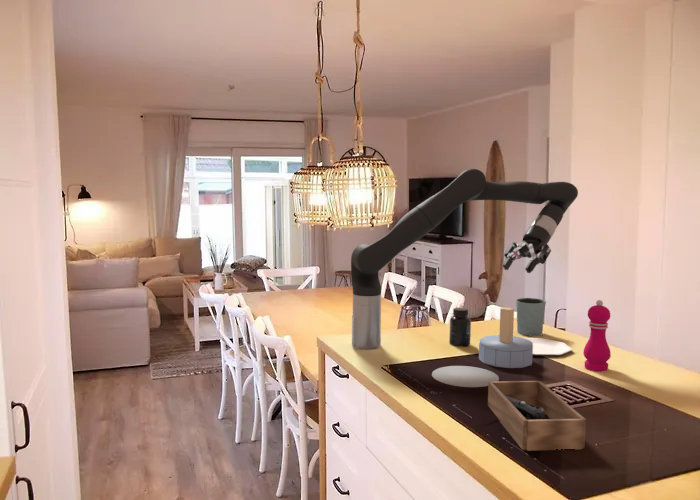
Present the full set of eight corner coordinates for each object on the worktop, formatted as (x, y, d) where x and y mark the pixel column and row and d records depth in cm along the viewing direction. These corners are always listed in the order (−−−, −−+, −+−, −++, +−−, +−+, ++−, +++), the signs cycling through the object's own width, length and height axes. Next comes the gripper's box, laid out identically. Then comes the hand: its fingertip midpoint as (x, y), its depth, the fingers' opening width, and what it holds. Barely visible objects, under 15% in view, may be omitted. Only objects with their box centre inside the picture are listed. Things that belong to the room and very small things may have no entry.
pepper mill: (608, 366, 169) (612, 298, 167) (611, 373, 162) (614, 303, 160) (582, 363, 172) (585, 297, 169) (583, 370, 165) (586, 301, 163)
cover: (511, 372, 163) (513, 316, 161) (468, 359, 175) (470, 307, 173) (542, 362, 172) (544, 309, 171) (499, 351, 184) (501, 301, 182)
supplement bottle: (472, 347, 188) (473, 311, 187) (450, 347, 188) (451, 311, 187) (468, 342, 195) (469, 307, 194) (447, 341, 195) (448, 306, 194)
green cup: (542, 330, 211) (543, 298, 210) (546, 337, 202) (548, 303, 200) (513, 329, 213) (514, 297, 212) (516, 336, 203) (517, 302, 202)
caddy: (523, 450, 114) (524, 421, 113) (487, 406, 137) (488, 381, 137) (585, 449, 115) (586, 420, 114) (539, 405, 138) (540, 380, 138)
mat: (439, 389, 149) (439, 387, 149) (426, 367, 167) (426, 366, 167) (508, 387, 150) (508, 386, 150) (487, 366, 168) (487, 365, 168)
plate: (525, 338, 201) (525, 334, 201) (580, 350, 187) (581, 346, 187) (494, 349, 187) (494, 345, 187) (551, 362, 173) (551, 358, 173)
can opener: (554, 437, 121) (555, 411, 120) (524, 441, 119) (525, 414, 118) (509, 406, 138) (509, 383, 137) (482, 409, 136) (483, 386, 135)
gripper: (517, 223, 190) (492, 259, 184) (555, 225, 179) (530, 264, 173) (526, 238, 194) (502, 275, 188) (564, 241, 182) (540, 280, 177)
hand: (515, 269), depth 180 cm, fingers open, 8 cm apart
